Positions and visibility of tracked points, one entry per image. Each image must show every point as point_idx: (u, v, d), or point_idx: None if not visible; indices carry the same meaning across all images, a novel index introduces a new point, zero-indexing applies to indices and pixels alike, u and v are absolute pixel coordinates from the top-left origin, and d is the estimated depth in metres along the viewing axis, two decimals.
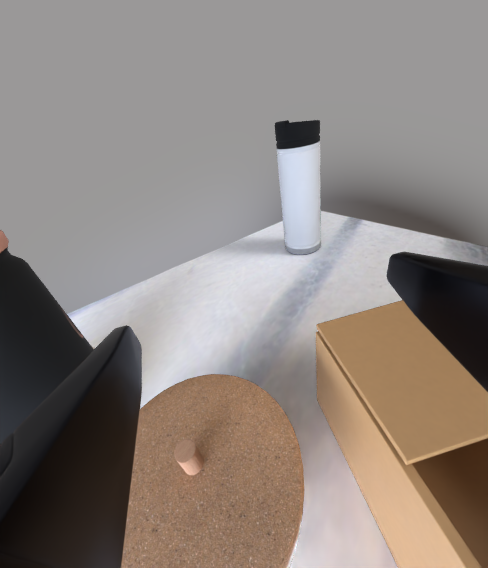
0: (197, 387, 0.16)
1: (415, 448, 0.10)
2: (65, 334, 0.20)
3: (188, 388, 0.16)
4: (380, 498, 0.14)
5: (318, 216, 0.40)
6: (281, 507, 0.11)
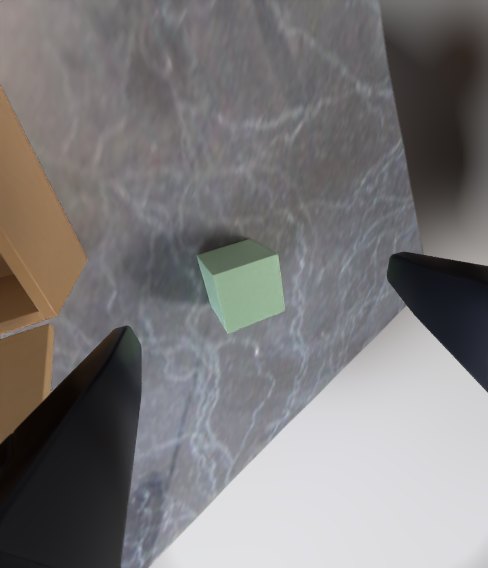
0: None
1: None
2: None
3: None
4: None
5: None
6: None
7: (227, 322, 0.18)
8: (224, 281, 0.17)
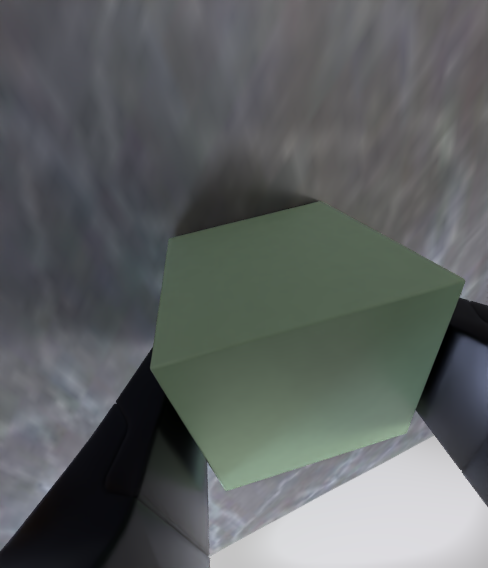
0: None
1: None
2: None
3: None
4: None
5: None
6: None
7: (223, 473, 0.06)
8: (209, 385, 0.04)
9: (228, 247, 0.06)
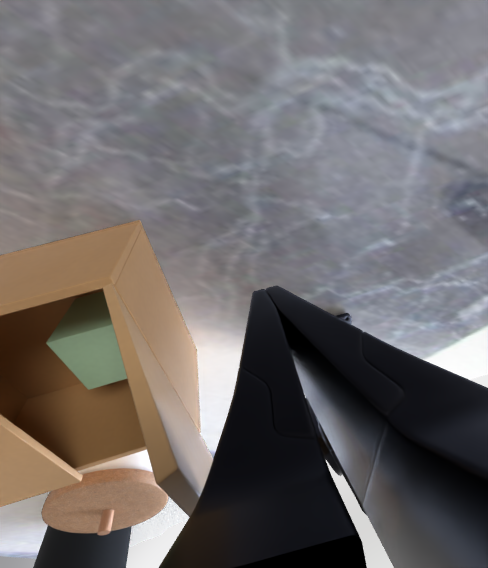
0: (59, 525, 0.23)
1: (71, 479, 0.17)
2: None
3: (62, 527, 0.23)
4: None
5: None
6: (118, 486, 0.21)
7: None
8: (92, 381, 0.18)
9: None
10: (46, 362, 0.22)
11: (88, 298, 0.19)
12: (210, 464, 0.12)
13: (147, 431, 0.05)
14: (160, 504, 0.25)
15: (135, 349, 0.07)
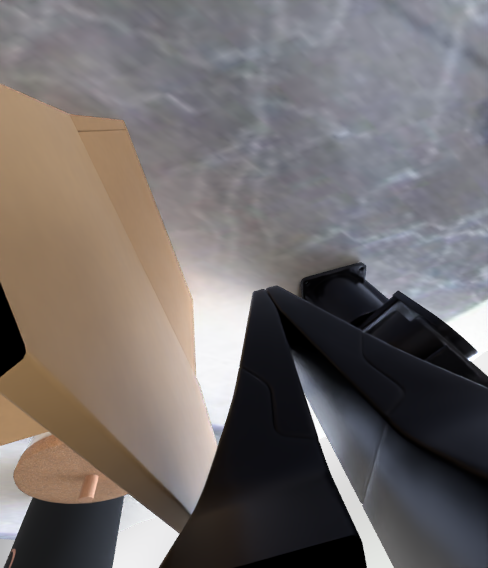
0: (35, 492, 0.20)
1: (40, 427, 0.14)
2: None
3: (39, 494, 0.20)
4: None
5: None
6: None
7: None
8: None
9: None
10: None
11: None
12: (185, 394, 0.09)
13: None
14: None
15: (5, 87, 0.04)
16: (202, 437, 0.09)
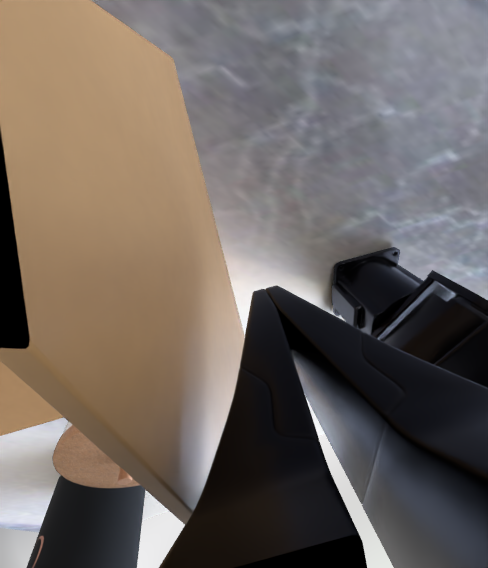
0: (72, 474, 0.20)
1: None
2: (51, 561, 0.23)
3: (75, 477, 0.20)
4: None
5: None
6: None
7: None
8: None
9: None
10: None
11: None
12: (226, 368, 0.08)
13: None
14: None
15: None
16: None
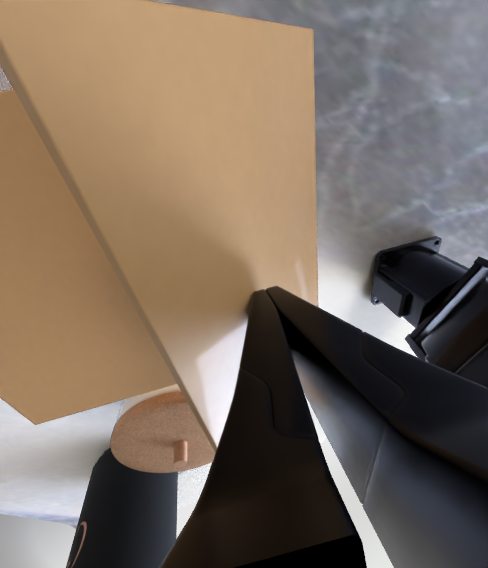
0: (127, 457, 0.20)
1: (171, 379, 0.14)
2: (98, 546, 0.24)
3: (129, 460, 0.20)
4: None
5: None
6: None
7: None
8: None
9: None
10: None
11: None
12: None
13: None
14: None
15: (202, 11, 0.05)
16: None
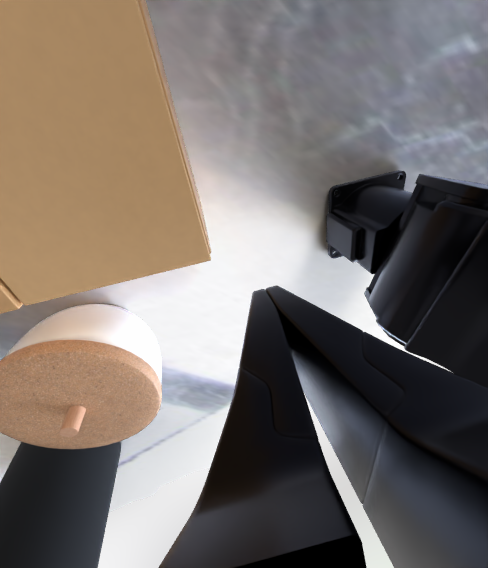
0: (7, 425, 0.16)
1: (1, 300, 0.10)
2: None
3: (12, 430, 0.17)
4: None
5: None
6: (88, 363, 0.15)
7: None
8: None
9: None
10: None
11: None
12: (42, 152, 0.08)
13: None
14: (150, 409, 0.18)
15: None
16: (37, 198, 0.09)
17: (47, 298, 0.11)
